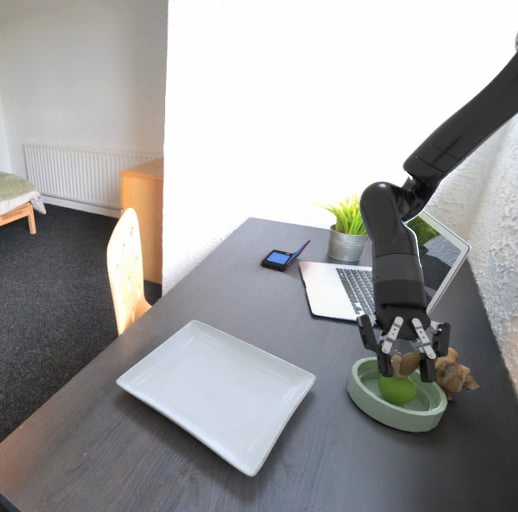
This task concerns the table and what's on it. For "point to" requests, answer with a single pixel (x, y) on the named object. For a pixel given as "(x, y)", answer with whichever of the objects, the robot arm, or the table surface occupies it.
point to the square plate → (220, 392)
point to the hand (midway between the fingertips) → (407, 379)
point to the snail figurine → (400, 379)
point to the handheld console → (281, 258)
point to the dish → (392, 414)
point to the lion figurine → (453, 374)
